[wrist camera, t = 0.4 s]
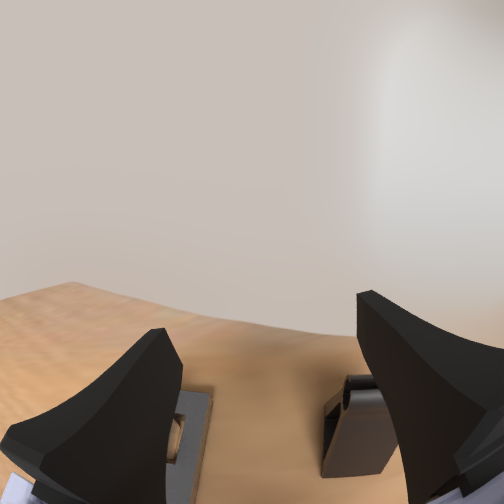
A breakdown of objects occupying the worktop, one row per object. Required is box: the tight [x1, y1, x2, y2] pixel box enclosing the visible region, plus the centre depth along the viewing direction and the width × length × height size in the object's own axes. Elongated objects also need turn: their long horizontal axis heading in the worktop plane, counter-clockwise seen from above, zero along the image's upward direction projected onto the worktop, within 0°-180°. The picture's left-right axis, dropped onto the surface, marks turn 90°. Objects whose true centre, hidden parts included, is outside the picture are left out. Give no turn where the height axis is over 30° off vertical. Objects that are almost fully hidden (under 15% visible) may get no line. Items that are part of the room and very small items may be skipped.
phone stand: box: [322, 374, 398, 478], centre depth 19 cm, size 9×6×12 cm, turn 171°
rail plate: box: [166, 390, 213, 504], centre depth 17 cm, size 24×10×2 cm, turn 176°
